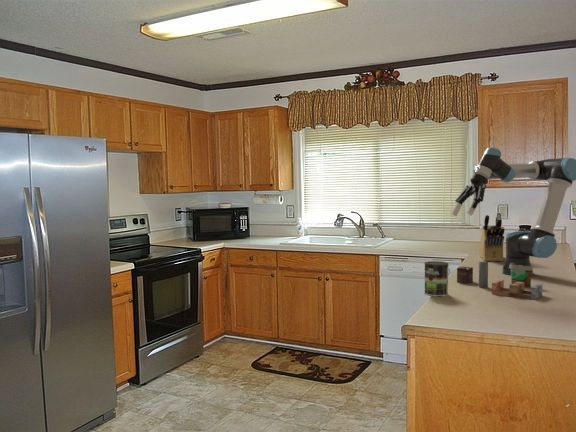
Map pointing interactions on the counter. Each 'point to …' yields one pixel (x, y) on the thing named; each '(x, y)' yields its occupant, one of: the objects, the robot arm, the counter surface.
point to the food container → (521, 274)
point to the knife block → (492, 240)
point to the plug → (483, 274)
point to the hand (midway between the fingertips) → (461, 214)
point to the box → (465, 274)
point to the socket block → (516, 290)
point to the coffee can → (436, 278)
